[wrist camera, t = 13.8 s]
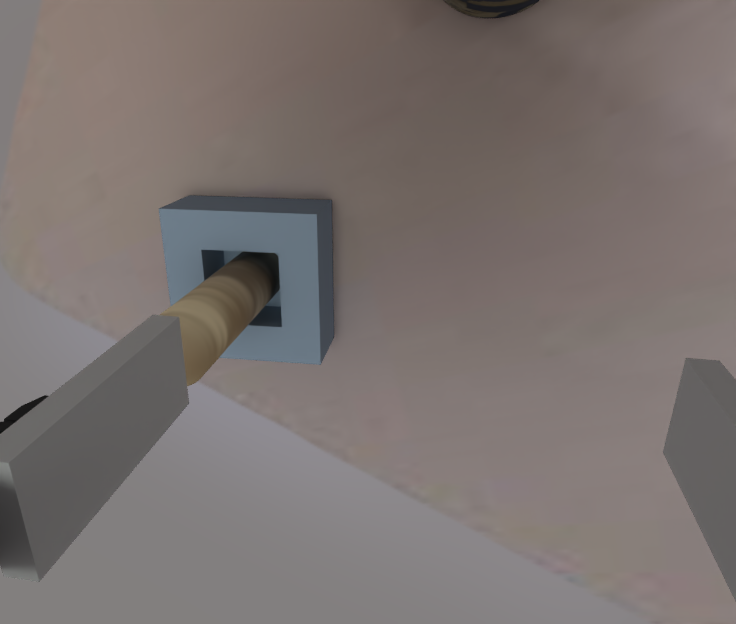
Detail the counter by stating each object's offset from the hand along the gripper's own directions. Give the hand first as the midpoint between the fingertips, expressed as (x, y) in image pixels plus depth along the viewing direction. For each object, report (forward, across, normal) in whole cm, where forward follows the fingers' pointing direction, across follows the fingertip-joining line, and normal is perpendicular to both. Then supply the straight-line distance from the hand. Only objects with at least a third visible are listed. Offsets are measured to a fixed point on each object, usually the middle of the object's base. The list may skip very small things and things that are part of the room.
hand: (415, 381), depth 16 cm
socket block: (+29, -14, -7) cm, 33 cm away
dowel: (+28, -14, -7) cm, 32 cm away
